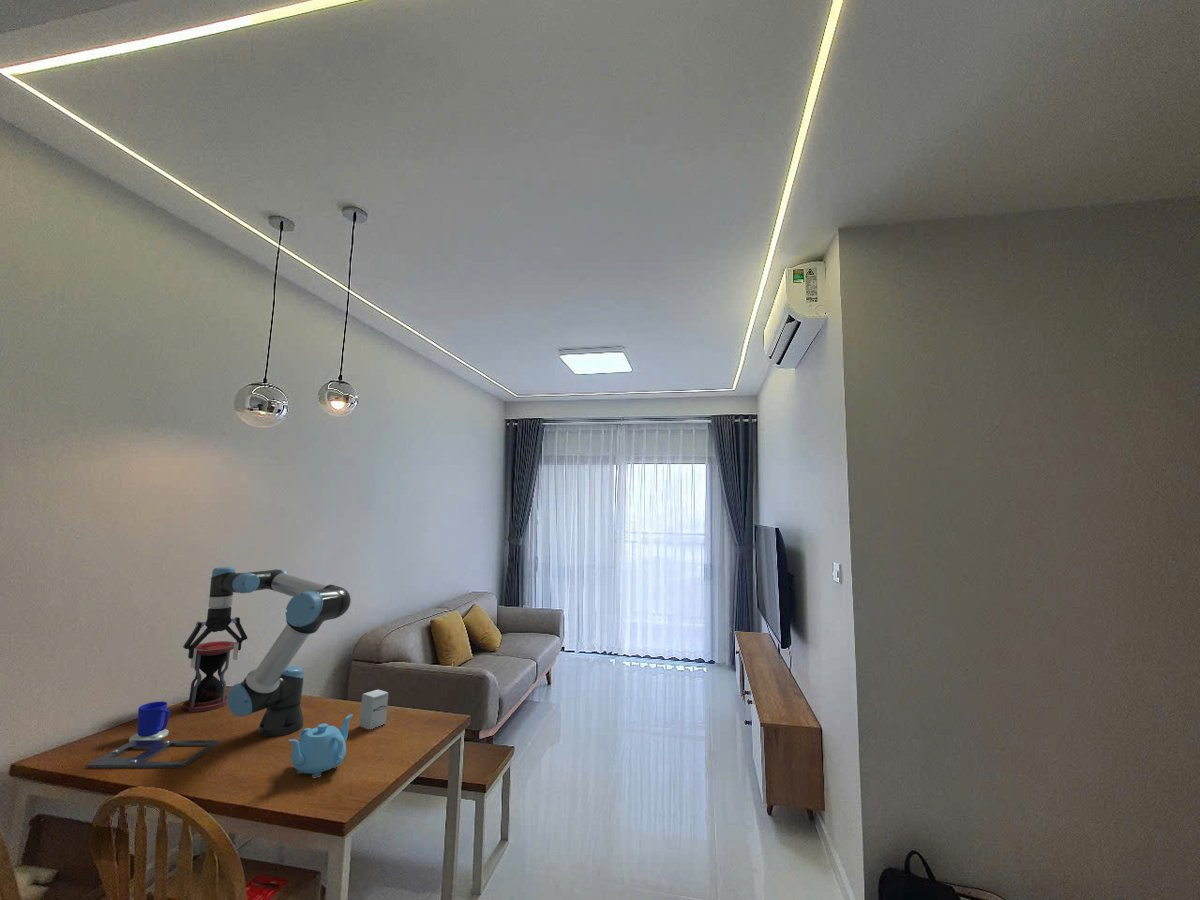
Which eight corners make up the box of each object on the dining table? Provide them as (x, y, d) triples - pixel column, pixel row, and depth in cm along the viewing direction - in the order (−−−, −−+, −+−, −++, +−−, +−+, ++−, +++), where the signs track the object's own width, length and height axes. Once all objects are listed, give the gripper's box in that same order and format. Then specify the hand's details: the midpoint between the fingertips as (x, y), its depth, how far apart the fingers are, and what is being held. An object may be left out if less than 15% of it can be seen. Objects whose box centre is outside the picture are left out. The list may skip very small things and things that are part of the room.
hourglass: (203, 697, 227) (210, 640, 230) (237, 699, 226) (244, 641, 229) (171, 711, 211) (180, 649, 214) (208, 713, 210) (216, 651, 213)
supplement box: (369, 731, 198) (372, 697, 200) (358, 726, 202) (361, 693, 204) (386, 724, 205) (389, 692, 206) (375, 720, 209) (377, 688, 210)
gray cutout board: (219, 743, 184) (219, 739, 184) (182, 767, 166) (183, 763, 166) (132, 743, 182) (132, 739, 182) (85, 768, 164) (86, 763, 164)
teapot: (282, 786, 157) (287, 739, 159) (298, 757, 175) (302, 715, 177) (340, 780, 162) (344, 734, 164) (349, 752, 180) (353, 711, 182)
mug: (153, 741, 182) (157, 712, 184) (128, 736, 185) (132, 707, 186) (176, 731, 190) (180, 704, 191) (152, 727, 193) (156, 700, 194)
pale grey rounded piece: (175, 731, 193) (176, 728, 193) (152, 743, 182) (153, 741, 182) (145, 730, 192) (145, 728, 192) (120, 743, 181) (120, 741, 181)
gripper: (252, 602, 211) (247, 654, 208) (177, 610, 192) (170, 668, 189) (259, 603, 206) (254, 657, 203) (183, 612, 187) (176, 672, 184)
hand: (214, 663), depth 196 cm, fingers open, 13 cm apart
